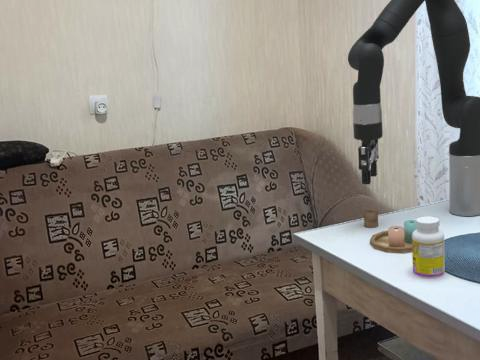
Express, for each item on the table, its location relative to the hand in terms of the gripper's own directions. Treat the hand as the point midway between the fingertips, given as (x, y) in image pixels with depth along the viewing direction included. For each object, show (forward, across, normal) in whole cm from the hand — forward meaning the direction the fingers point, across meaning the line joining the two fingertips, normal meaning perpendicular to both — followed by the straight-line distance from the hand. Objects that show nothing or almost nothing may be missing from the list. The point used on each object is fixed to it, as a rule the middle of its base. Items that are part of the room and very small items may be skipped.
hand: (369, 180), depth 158 cm
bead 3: (+13, +11, +12) cm, 21 cm away
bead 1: (+14, 0, 0) cm, 14 cm away
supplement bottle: (+14, +29, +18) cm, 37 cm away
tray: (+14, +12, +9) cm, 21 cm away
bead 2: (+13, +16, +9) cm, 23 cm away
